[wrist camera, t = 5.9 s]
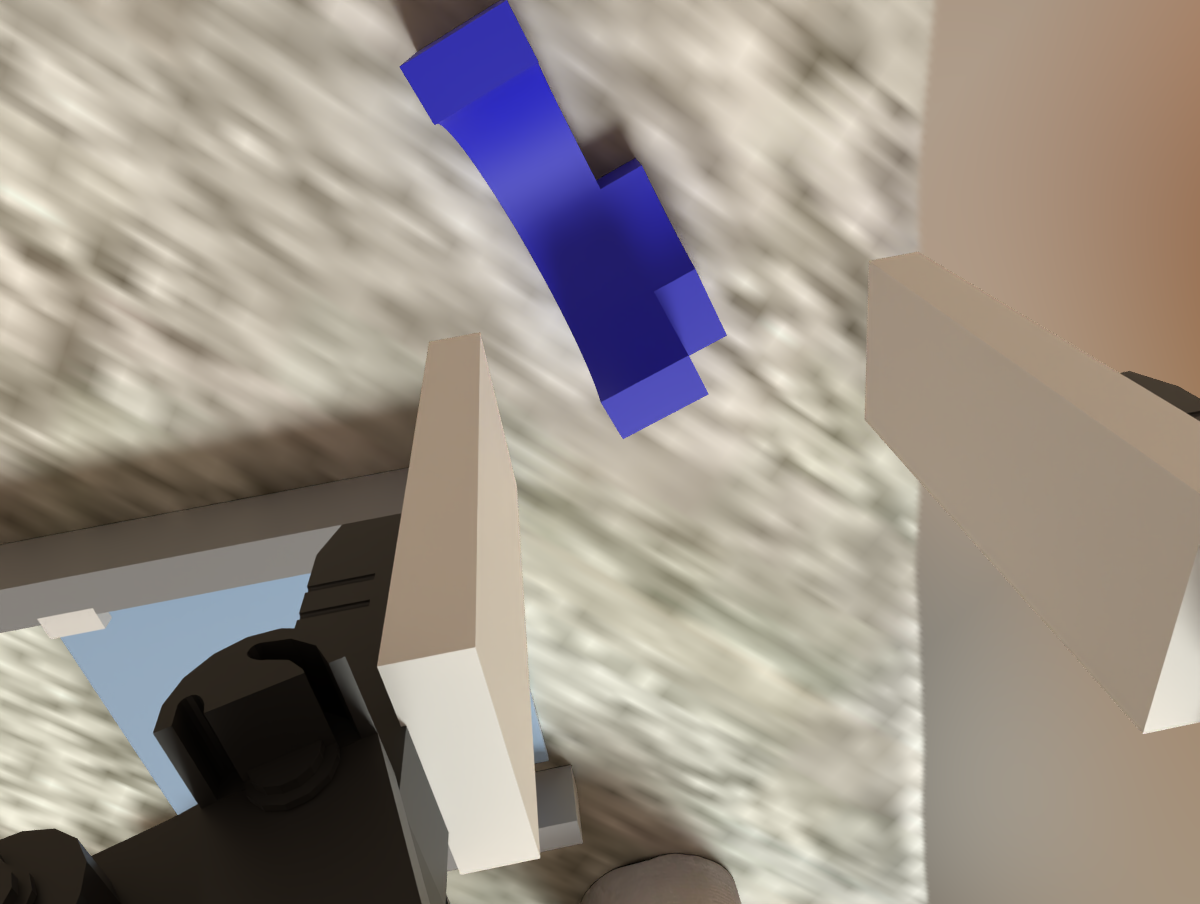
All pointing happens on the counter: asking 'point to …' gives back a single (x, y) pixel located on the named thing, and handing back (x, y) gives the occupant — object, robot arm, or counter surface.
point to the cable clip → (574, 220)
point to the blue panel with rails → (205, 607)
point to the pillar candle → (666, 883)
